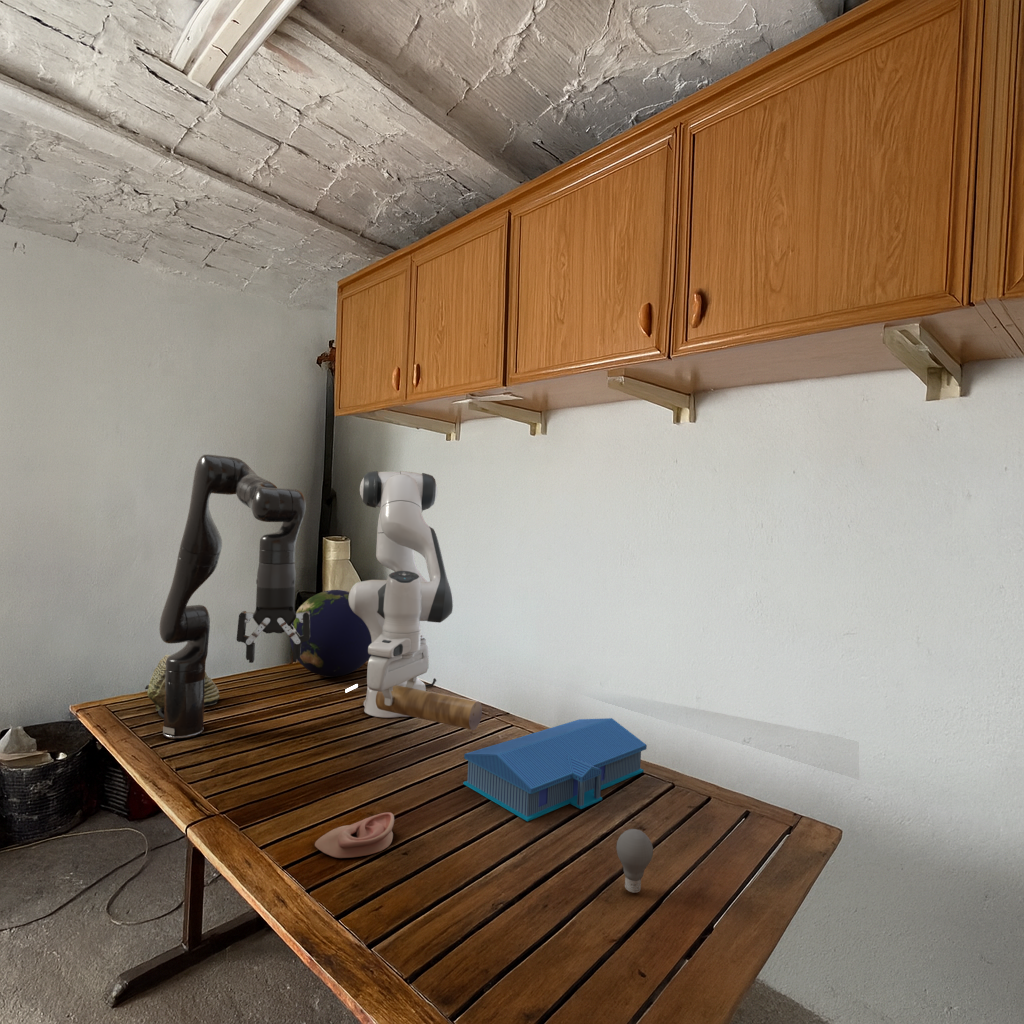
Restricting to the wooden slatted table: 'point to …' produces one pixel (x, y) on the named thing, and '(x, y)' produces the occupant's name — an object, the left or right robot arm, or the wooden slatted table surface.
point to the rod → (433, 707)
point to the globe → (332, 635)
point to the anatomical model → (358, 837)
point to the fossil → (158, 687)
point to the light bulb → (634, 857)
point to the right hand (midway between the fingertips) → (398, 700)
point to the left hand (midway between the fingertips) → (273, 661)
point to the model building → (555, 766)
